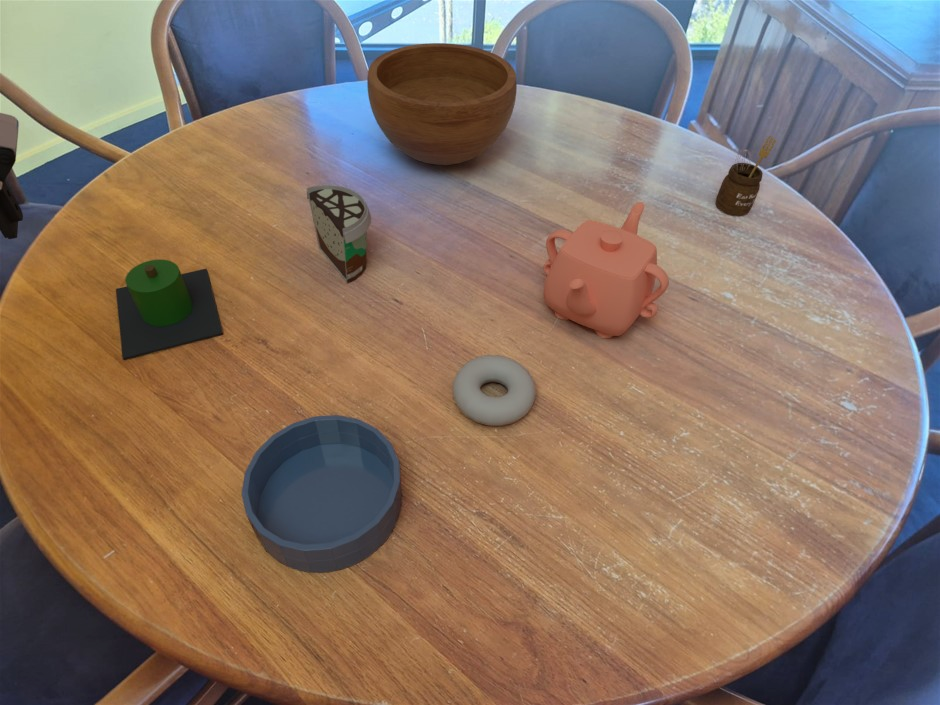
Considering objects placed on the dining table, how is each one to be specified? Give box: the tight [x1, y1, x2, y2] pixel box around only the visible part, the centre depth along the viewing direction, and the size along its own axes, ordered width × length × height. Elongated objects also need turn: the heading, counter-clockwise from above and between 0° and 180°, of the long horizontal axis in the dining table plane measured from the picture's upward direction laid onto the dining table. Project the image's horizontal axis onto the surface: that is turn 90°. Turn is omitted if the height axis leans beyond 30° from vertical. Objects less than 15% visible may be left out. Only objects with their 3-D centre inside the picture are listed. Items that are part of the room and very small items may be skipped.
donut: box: [452, 354, 537, 427], centre depth 74 cm, size 10×4×10 cm
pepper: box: [125, 258, 193, 326], centre depth 80 cm, size 6×6×7 cm
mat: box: [115, 268, 224, 361], centre depth 83 cm, size 12×14×1 cm
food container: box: [306, 184, 372, 284], centre depth 89 cm, size 12×6×10 cm, turn 34°
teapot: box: [542, 201, 670, 339], centre depth 82 cm, size 15×17×13 cm
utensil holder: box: [715, 135, 777, 217], centre depth 101 cm, size 6×6×12 cm
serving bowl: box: [241, 414, 403, 574], centre depth 63 cm, size 15×15×5 cm
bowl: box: [366, 42, 518, 166], centre depth 108 cm, size 25×25×15 cm
